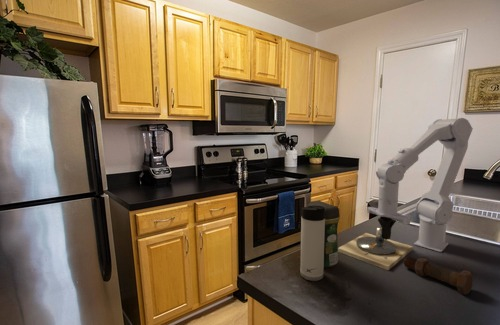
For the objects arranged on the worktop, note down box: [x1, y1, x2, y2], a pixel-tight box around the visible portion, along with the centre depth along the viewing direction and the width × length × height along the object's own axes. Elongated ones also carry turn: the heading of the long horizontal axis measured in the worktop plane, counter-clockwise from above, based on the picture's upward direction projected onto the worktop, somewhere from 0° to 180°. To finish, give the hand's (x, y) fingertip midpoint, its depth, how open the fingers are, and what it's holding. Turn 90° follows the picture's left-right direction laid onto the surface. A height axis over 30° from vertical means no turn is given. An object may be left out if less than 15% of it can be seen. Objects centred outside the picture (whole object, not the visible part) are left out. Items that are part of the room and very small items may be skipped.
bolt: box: [403, 256, 474, 296], centre depth 70 cm, size 6×5×15 cm
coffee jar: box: [307, 200, 341, 268], centre depth 79 cm, size 10×8×19 cm
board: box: [338, 232, 414, 271], centre depth 87 cm, size 20×16×2 cm
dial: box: [356, 226, 396, 255], centre depth 87 cm, size 12×12×5 cm
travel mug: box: [299, 206, 325, 282], centre depth 71 cm, size 6×7×20 cm
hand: (385, 238), depth 89 cm, fingers closed, pressing on dial
